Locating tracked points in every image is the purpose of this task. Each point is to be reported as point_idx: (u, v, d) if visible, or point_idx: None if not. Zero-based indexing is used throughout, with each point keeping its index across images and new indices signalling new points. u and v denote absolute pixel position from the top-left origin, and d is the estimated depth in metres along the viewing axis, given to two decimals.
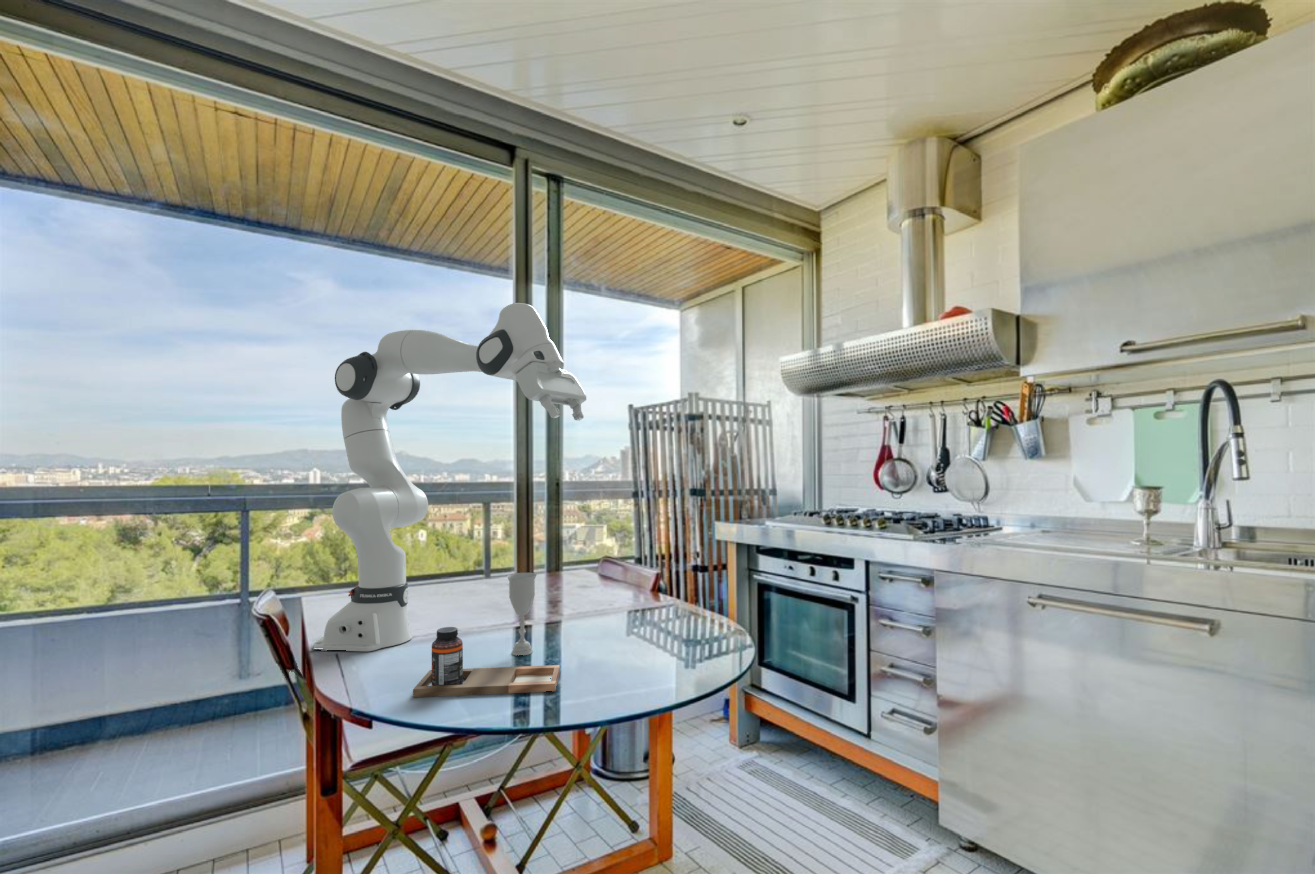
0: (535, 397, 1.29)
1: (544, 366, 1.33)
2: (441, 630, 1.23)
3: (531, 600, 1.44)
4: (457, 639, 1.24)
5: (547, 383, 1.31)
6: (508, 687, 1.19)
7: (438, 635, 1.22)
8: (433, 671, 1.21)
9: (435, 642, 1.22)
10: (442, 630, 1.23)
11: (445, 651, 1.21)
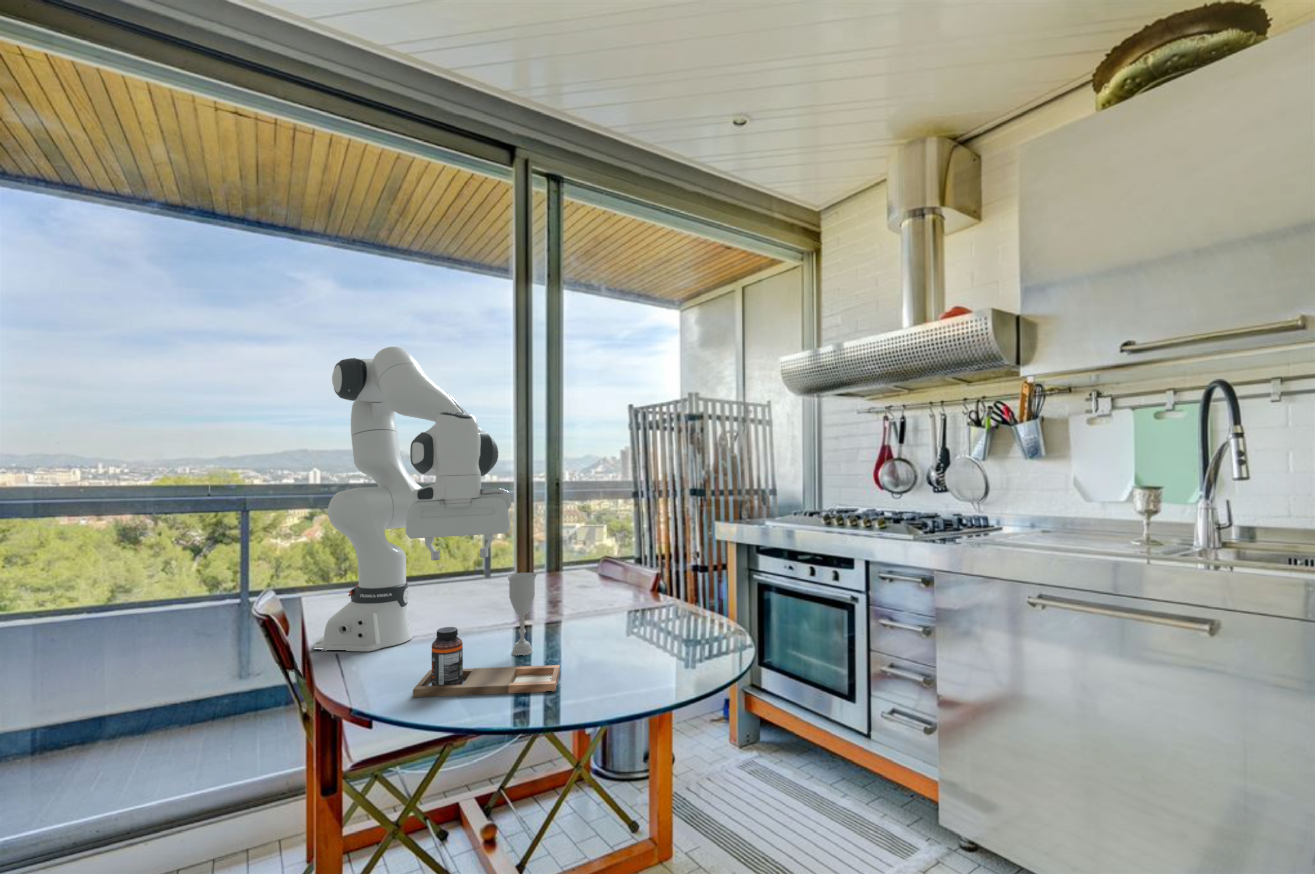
0: None
1: (432, 505, 1.22)
2: (441, 630, 1.23)
3: (531, 600, 1.44)
4: (457, 639, 1.24)
5: (430, 525, 1.22)
6: (508, 687, 1.19)
7: (438, 635, 1.22)
8: (433, 671, 1.21)
9: (435, 642, 1.22)
10: (442, 630, 1.23)
11: (445, 651, 1.21)
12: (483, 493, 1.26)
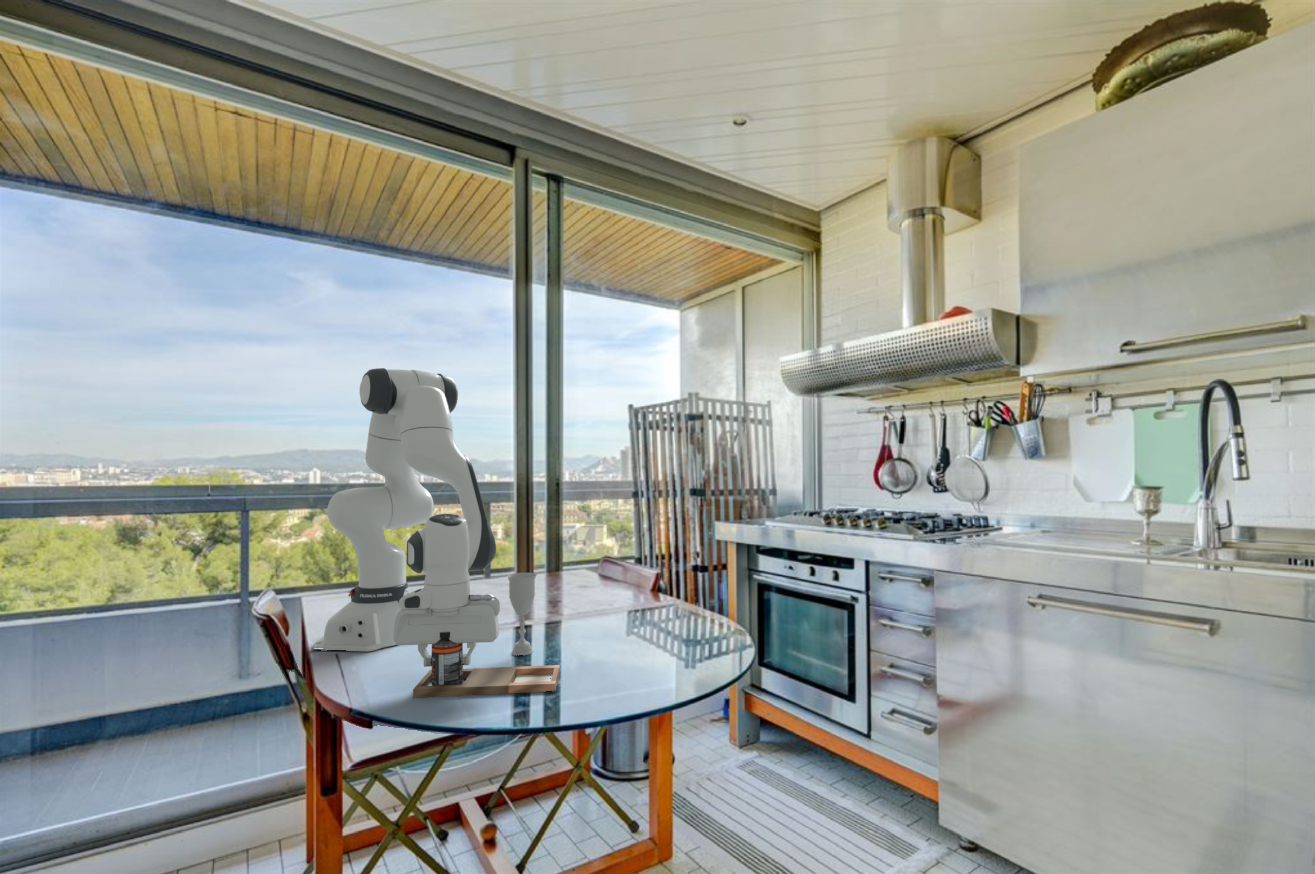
0: None
1: (419, 613, 1.21)
2: None
3: (531, 600, 1.44)
4: None
5: (417, 632, 1.22)
6: (508, 687, 1.19)
7: None
8: (433, 671, 1.21)
9: None
10: None
11: (445, 651, 1.21)
12: (471, 599, 1.24)
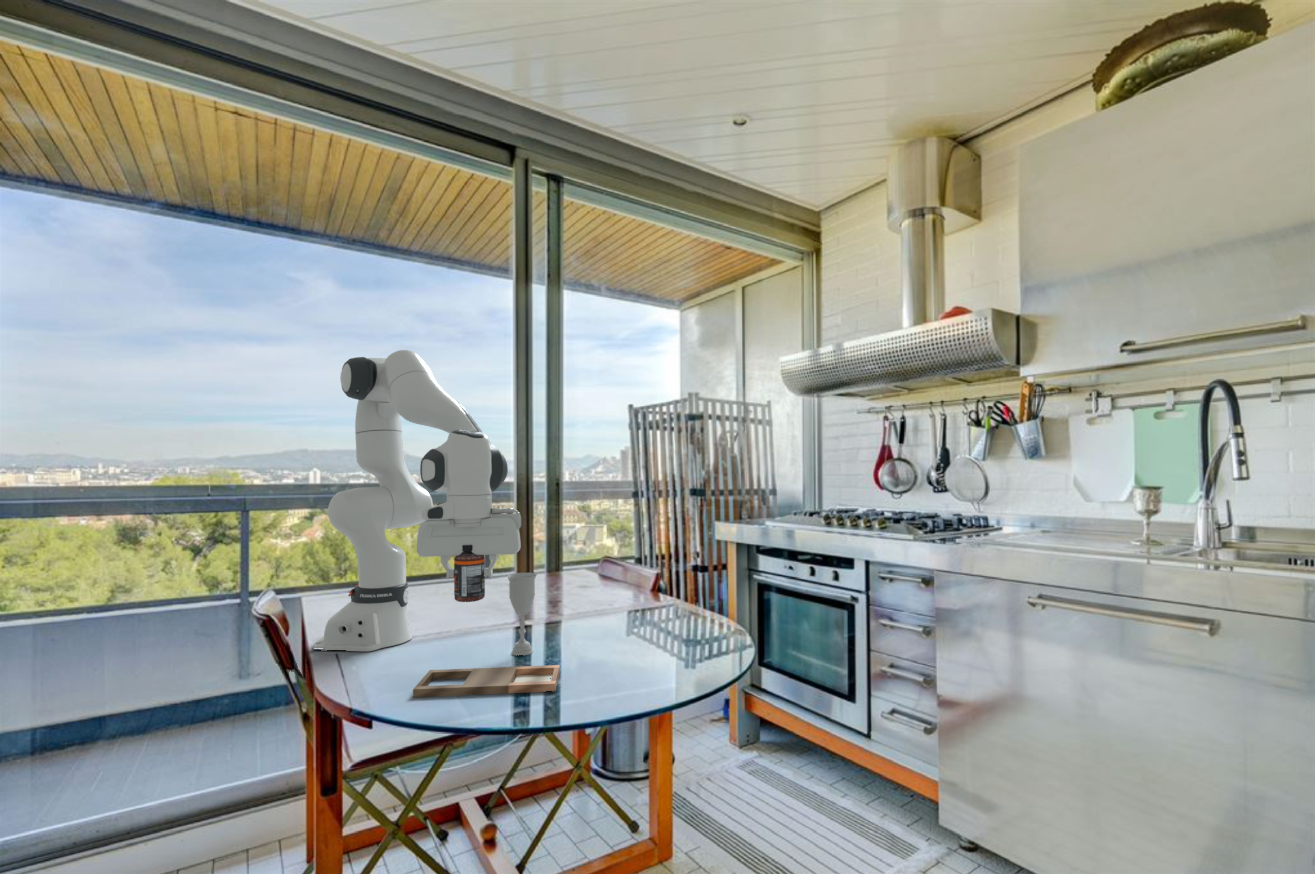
0: None
1: (442, 524, 1.22)
2: None
3: (531, 600, 1.44)
4: None
5: (440, 544, 1.23)
6: (508, 687, 1.19)
7: None
8: (456, 583, 1.22)
9: None
10: None
11: (468, 563, 1.22)
12: (493, 513, 1.25)
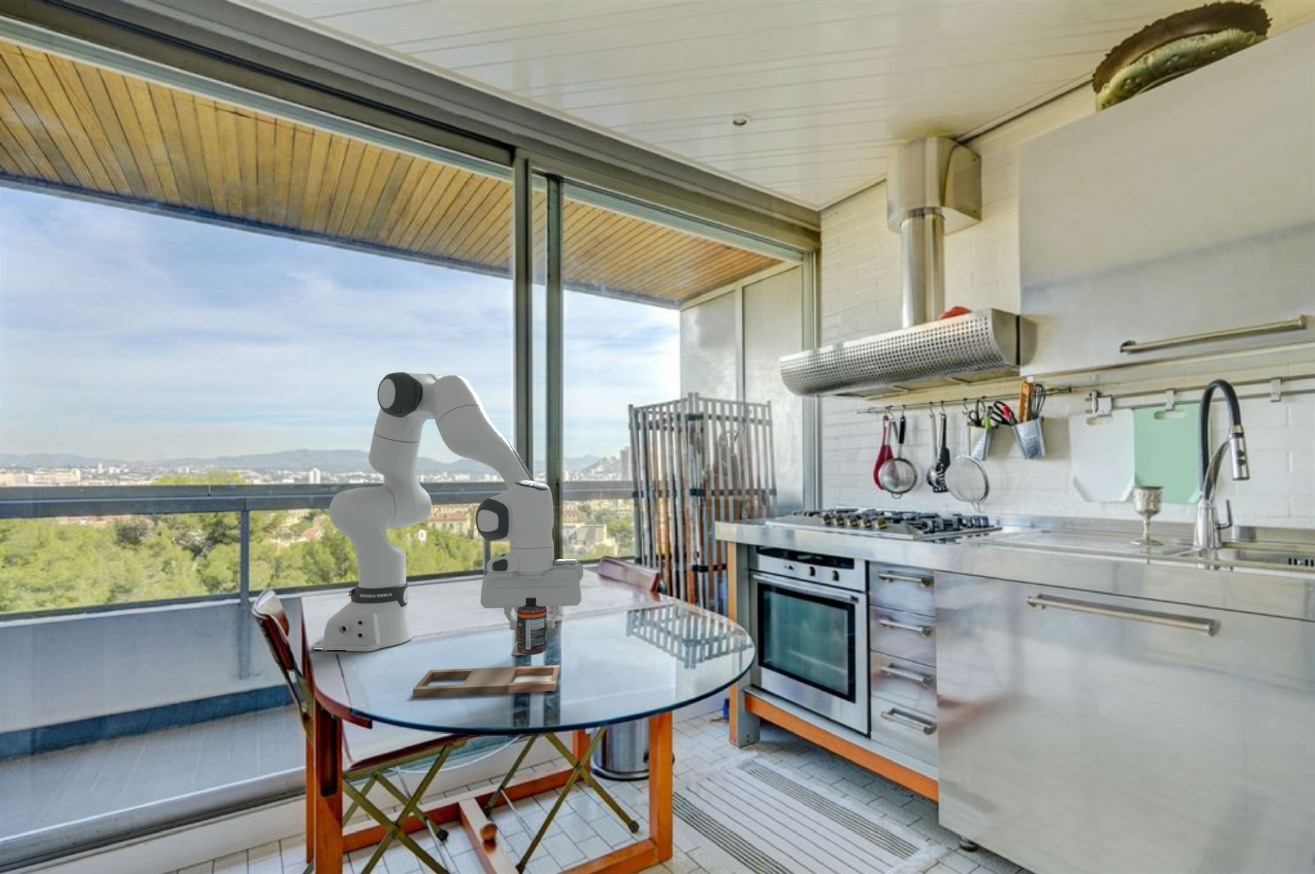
0: None
1: (506, 576, 1.23)
2: None
3: None
4: None
5: (504, 596, 1.23)
6: (508, 687, 1.19)
7: None
8: (520, 636, 1.23)
9: (521, 608, 1.24)
10: None
11: (532, 616, 1.22)
12: (556, 564, 1.26)
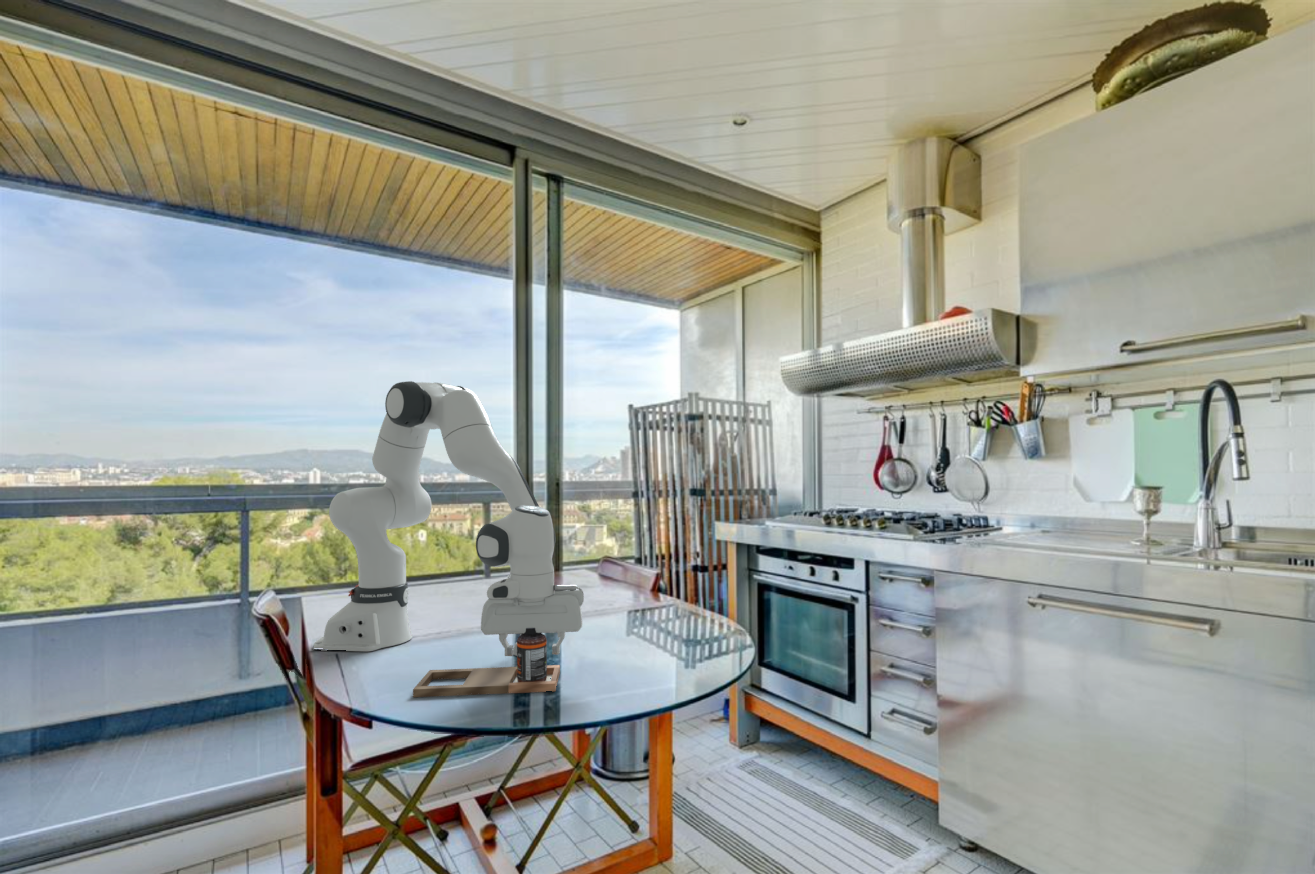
0: None
1: (506, 603, 1.22)
2: None
3: None
4: (542, 635, 1.25)
5: (504, 622, 1.23)
6: (508, 687, 1.19)
7: None
8: (519, 666, 1.23)
9: (521, 638, 1.24)
10: None
11: (531, 647, 1.22)
12: (556, 590, 1.26)
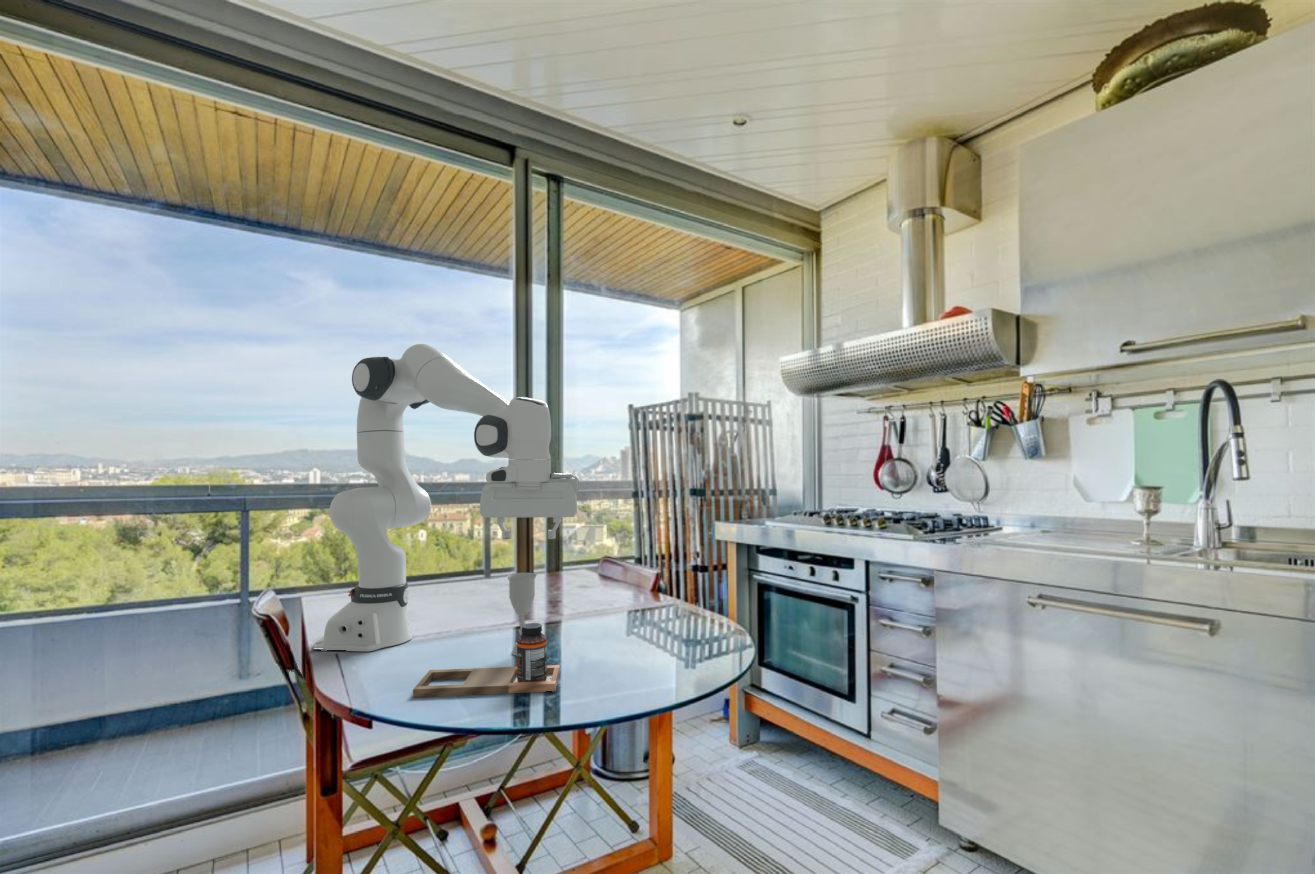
0: None
1: (504, 487, 1.27)
2: (526, 626, 1.24)
3: (531, 600, 1.44)
4: (542, 635, 1.25)
5: (502, 506, 1.28)
6: (508, 687, 1.19)
7: (524, 631, 1.24)
8: (519, 666, 1.23)
9: (521, 638, 1.24)
10: (527, 626, 1.24)
11: (531, 647, 1.22)
12: (552, 477, 1.30)
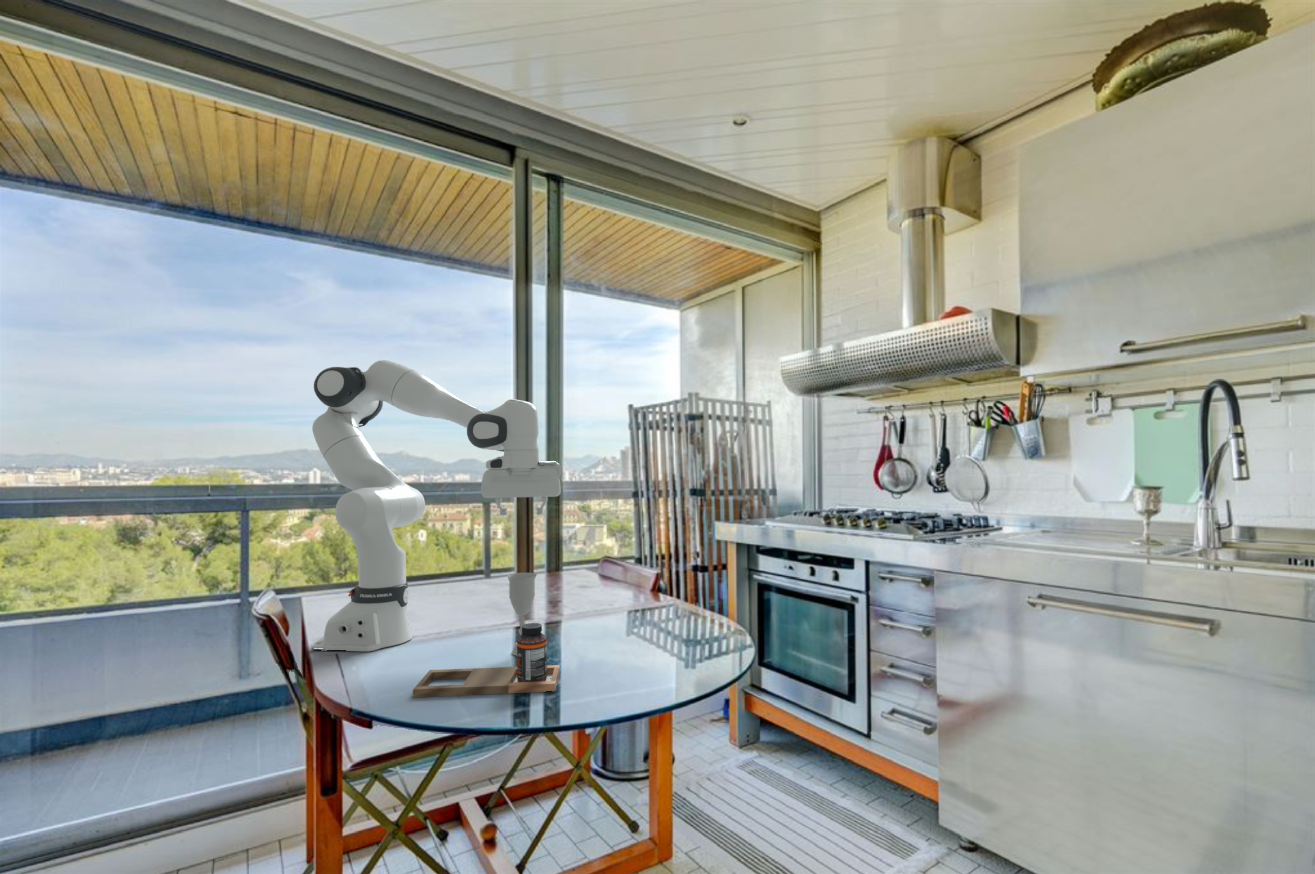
0: None
1: (501, 472, 1.57)
2: (526, 626, 1.24)
3: (531, 600, 1.44)
4: (542, 635, 1.25)
5: (499, 488, 1.58)
6: (508, 687, 1.19)
7: (524, 631, 1.24)
8: (519, 666, 1.23)
9: (521, 638, 1.24)
10: (527, 626, 1.24)
11: (531, 647, 1.22)
12: (540, 464, 1.60)
